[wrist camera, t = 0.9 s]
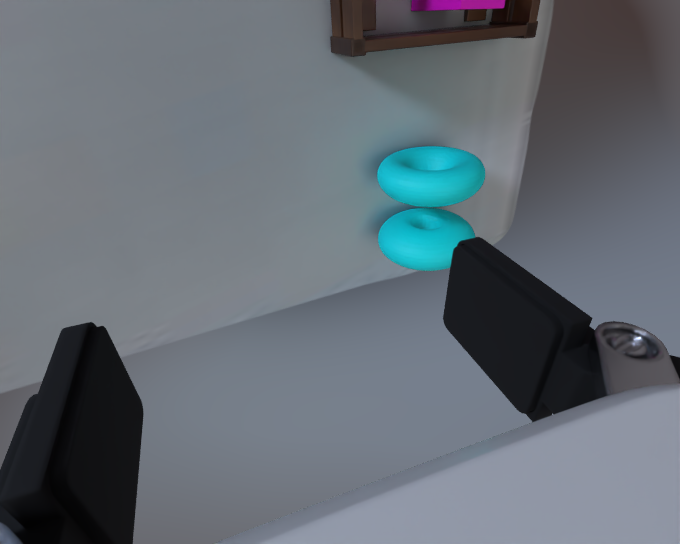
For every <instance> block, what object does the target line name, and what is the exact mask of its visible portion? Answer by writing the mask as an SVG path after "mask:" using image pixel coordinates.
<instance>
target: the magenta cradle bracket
mask: <svg viewBox="0 0 680 544" xmlns="http://www.w3.org/2000/svg"><path fill="white" fill-rule="evenodd" d="M504 5H505V0H412V5H411V11H436V10H469V9H496V8H504Z"/></svg>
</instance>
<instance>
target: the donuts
mask: <svg viewBox="0 0 680 544" xmlns="http://www.w3.org/2000/svg"><path fill="white" fill-rule="evenodd" d="M377 178H378V182H379V185H380V187H381V188H382V189H383V191H384V192H385V193H386V194H387V195H389V196H390V197H392V198H393V199H395V200H397V201H399V202H402V203H405V204H409V205H413V206H420V207H441V206H448V205H452V204H456V203H459V202H462V201H464V200H466V199H468V198H470V197H471V196H473V195H474V194H475V193H476V192H477V191H478V190H479V189H480V188H481V186H482V185H483V182H484V180H485V168H484V166H483V164H482V162H481V161H480V160H479V159H478V158H477V157H476V156H475V155H473V154H471V153H469V152H466V151H464V150H460V149H456V148H450V147H440V146H423V147H414V148H408V149H404V150H400V151H398V152H395V153H393V154H391V155H389V156H388V157H386V158H385V159H384V160H383V161H382V163H381V164H380V166H379V168H378V173H377ZM471 238H475V234H474V231H473V229H472V227H471V226H470V225H469V223H468V222H467V221H466V220H464V219H463V218H462V217H460V216H459V215H457V214H454V213H452V212H449V211H446V210H442V209H437V208H414V209H409V210H405V211H402V212H399V213H397V214H395V215H393V216H392V217H390V218H389V219H388V220H387V221H386V222H385V223H384V224H383V225H382V227H381V229H380V231H379V235H378V243H379V246H380V249H381V250H382V252H383V253H384V255H385V256H386V257H387V258H389V259H390V260H391V261H393V262H394V263H396V264H398V265H401V266H403V267H406V268H410V269H415V270H423V271H425V270H426V271H434V270H442V269H447V268H450V267H451V260H452V254H453V249H454V248H455V247H457V244H458V243H459V242H460V241H462V240H466V239H471Z"/></svg>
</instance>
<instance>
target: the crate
mask: <svg viewBox="0 0 680 544" xmlns="http://www.w3.org/2000/svg"><path fill="white" fill-rule="evenodd" d="M330 2H331V18H332V35H333V36H331V52H332V53H337V54H341V55H346V56H351V57H355V56H365V55H366V52H374V51H384V50H393V49H403V48H412V47H422V46H431V45H441V44H450V43H460V42H469V41H479V40H489V39H498V38H533V37H535V35H536V30H537V24H538V21H537V16H538V10H539V5H540V0H505V5H504V8H496V9H493V14H492V22H490V24H487V25H476V26H465V27H455V28H444V29H434V30H423V31H412V32H402V33H391V34H380V35H370V36H363V31H368V30H376V0H330ZM486 11H487V9H469V10H465V18H464V21H465V22H467V21H478V20H485V19H486Z"/></svg>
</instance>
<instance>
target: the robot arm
mask: <svg viewBox="0 0 680 544" xmlns="http://www.w3.org/2000/svg"><path fill="white" fill-rule="evenodd" d="M443 320H444V324H445V326H446V328H447V329H448V330H449V332H450V333H451V334H452V335H453V336H454V337H455V339H456V340H457V341H458V342H459V343H460V344H461V345H462V347H463V348H464V349H465V350H466V351H467V352H468V354H469V355H470V356H471V357H472V358H473V359H474V360H475V362H476V363H477V364H478V365H479V366H480V367H481V369H483V371H484V372H485V373H486V374H487V375H488V376H489V378H490V379H491V380H492V381H493V382H494V383H495V385H496V386H497V387H498V388H499V389H500V390H501V391H502V393H503V394H504V395H505V396H506V397H507V398H508V399H509V401H510V402H511V403H512V404H513V405H514V406H515V408H516V409H517V410H518V411H519V412H521V413H525V414H526V415H527V416H528V417H529V418H530V419H531V420H532V423H529V424H527V425H524V426H521V427H519V428H516V429H514V430H511V431H508V432H505V433H502V434H500V435H497V436H494V437H492V438H489V439H486V440H484V441H481V442H478V443H476V444H473V445H470V446H468V447H465V448H462V449H460V450H457V451H454V452H452V453H449V454H446V455H444V456H441V457H438V458H436V459H433V460H431V461H428V462H425V463H422V464H420V465H417V466H415V467H412V468H409V469H407V470H404V471H402V472H399V473H396V474H393V475H391V476H388V477H386V478H383V479H380V480H378V481H375V482H372V483H370V484H367V485H364V486H362V487H359V488H356V489H354V490H351V491H349V492H346V493H343V494H341V495H338V496H336V497H333V498H330V499H328V500H325V501H323V502H320V503H317V504H315V505H312V506H310V507H307V508H304V509H302V510H299V511H296V512H294V513H291V514H289V515H286V516H284V517H281V518H278V519H276V520H273V521H270V522H268V523H265V524H263V525H260V526H257V527H255V528H252V529H250V530H247V531H244V532H242V533H239V534H237V535H235V536H232V537H229V538H227V539H224V540H221V541H219V542H216V543H214V544H680V358H679V357H675V356H671V355H669V353H668V351H667V349H666V347H665V346H664V344H663V343H662V342H661V341H660V340H659V339H658V338H657V337H656V336H655V335H653V334H651V333H650V332H648V331H646V330H645V329H642V328H640V327H637V326H635V325H632V324H628V323H624V322H615V321H613V322H605V323H602V324H600V325H598V327H597V328H596V329H595V330H594V329H592V328H591V327H590V326H589V325H590V323H591V320H592V318H591V317H590V316H589V315H587V314H586V313H585V312H583V311H582V310H580V309H579V308H578V307H576V306H575V305H574V304H572V303H571V302H569V301H568V300H567V299H565V298H564V297H562V296H561V295H560V294H558V293H557V292H556V291H554V290H553V289H551V288H550V287H549V286H547V285H546V284H544V283H543V282H542V281H540V280H539V279H537V278H536V277H535V276H533V275H532V274H530V273H529V272H528V271H527V270H525V269H524V268H522V267H521V266H520V265H518V264H517V263H515V262H514V261H512V260H511V259H510V258H509V257H507V256H506V255H504V254H503V253H502V252H500V251H499V250H497V249H496V248H494V247H493V246H492V245H491V244H489V243H488V242H486V241H485V240H484V239H482V238H480V237H475V238H471V239H466V240H462V241H460V242H459V243H458V244H457V247H455V248H454V249H453V254H452V260H451V267H450V275H449V282H448V288H447V295H446V302H445V309H444V316H443ZM552 413H553V414H554V415H552ZM142 425H143V406H142V402H141V399H140V397H139V395H138V393H137V391H136V389H135V387H134V385H133V383H132V381H131V379H130V377H129V375H128V373H127V371H126V369H125V367H124V365H123V362H122V360H121V358H120V356H119V354H118V352H117V350H116V348H115V346H114V344H113V342H112V340H111V338H110V336H109V334H108V332H107V330H106V328H105V327H104V326H100V327H96V325H95V324H94V323H92V322H89V323H85V324H80V325H76V326H71V327H66V328H64V329H62V331H61V333H60V335H59V338H58V341H57V343H56V346H55V349H54V352H53V354H52V357H51V360H50V362H49V365H48V368H47V371H46V373H45V376H44V379H43V381H42V384H41V387H40V390H39V392H38V394H35V395H33V396H32V397H30V398H29V400H28V402H27V403H26V405H25V408H24V410H23V413H22V416H21V418H20V421H19V423H18V426H17V428H16V431H15V434H14V436H13V439H12V441H11V444H10V446H9V449H8V451H7V454H6V456H5V459H4V462H3V464H2V467H1V469H0V544H133V532H134V531H133V530H134V520H135V508H136V496H137V484H138V472H139V461H140V449H141V436H142Z"/></svg>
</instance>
